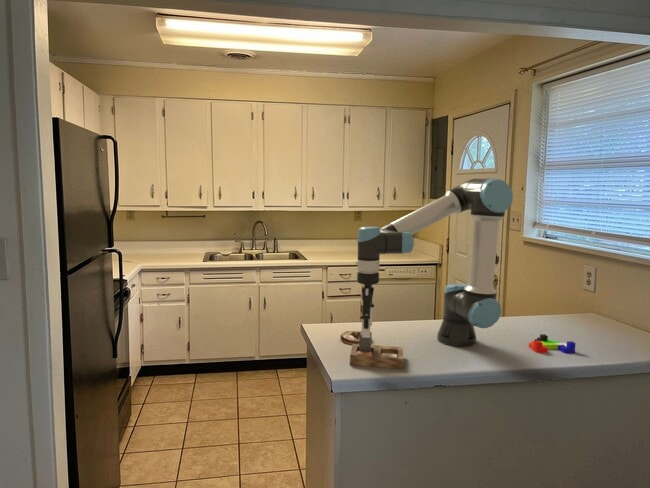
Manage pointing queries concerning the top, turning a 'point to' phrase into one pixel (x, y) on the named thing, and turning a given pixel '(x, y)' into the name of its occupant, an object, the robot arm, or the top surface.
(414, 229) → the robot arm
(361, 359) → the socket board
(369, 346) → the plug
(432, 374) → the top surface
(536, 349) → the building blocks
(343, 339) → the bagel
